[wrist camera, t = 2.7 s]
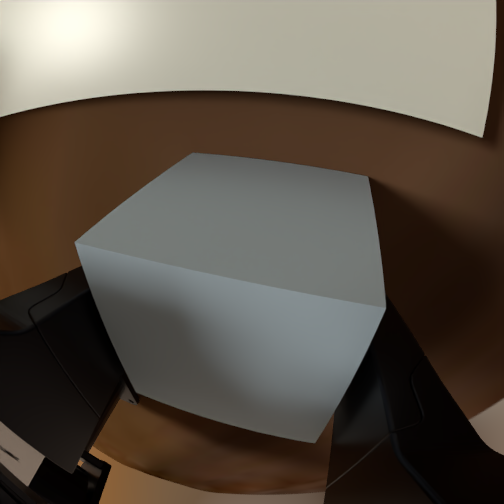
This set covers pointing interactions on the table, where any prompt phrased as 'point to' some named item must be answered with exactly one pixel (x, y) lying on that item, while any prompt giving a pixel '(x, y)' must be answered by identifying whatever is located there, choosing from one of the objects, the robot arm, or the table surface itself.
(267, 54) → the build plate
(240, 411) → the gray block
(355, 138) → the table surface
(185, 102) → the table surface
